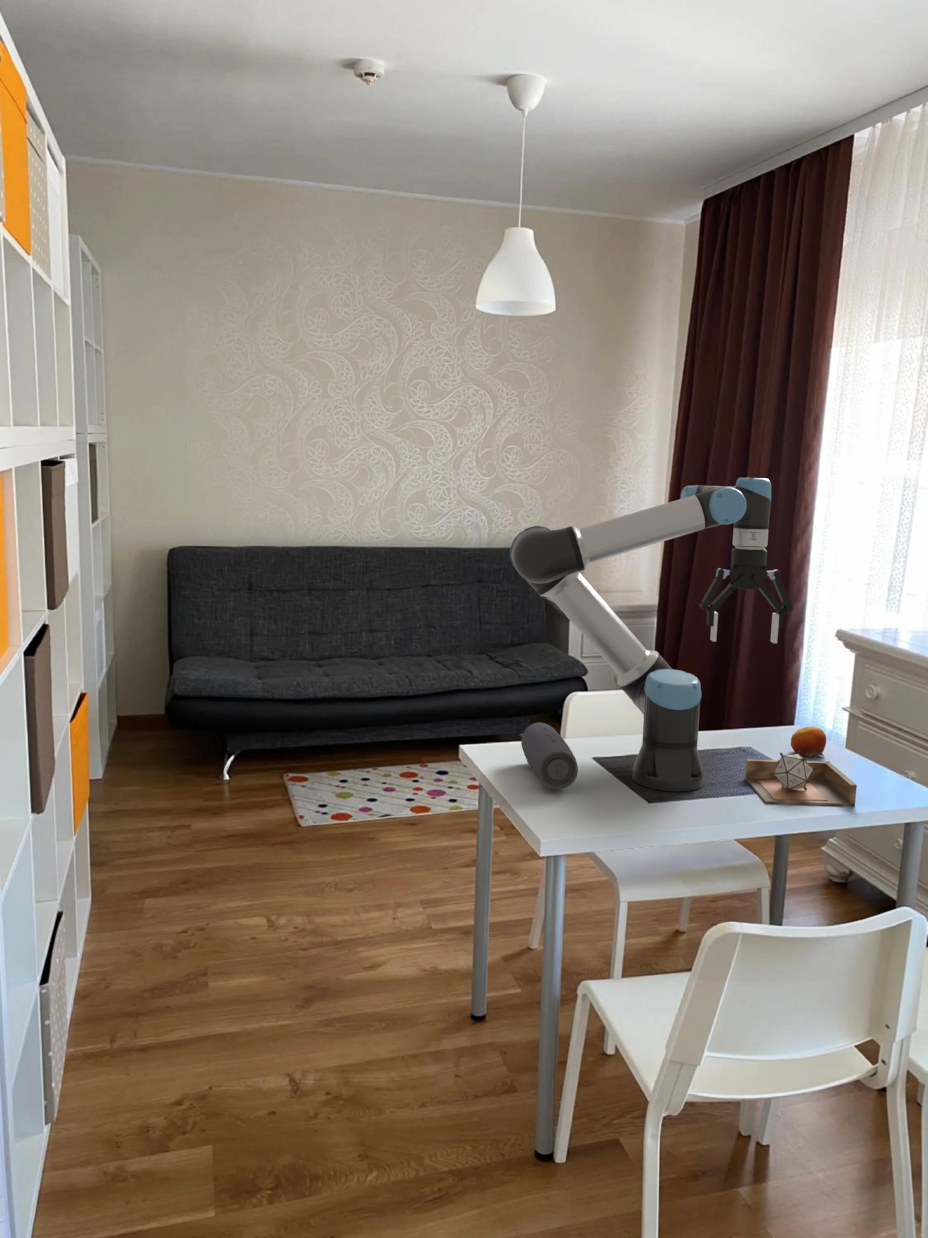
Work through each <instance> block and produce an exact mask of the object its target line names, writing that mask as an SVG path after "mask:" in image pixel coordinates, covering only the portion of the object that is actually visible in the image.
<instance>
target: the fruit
mask: <svg viewBox="0 0 928 1238" xmlns="http://www.w3.org/2000/svg"><path fill="white" fill-rule="evenodd" d="M826 745H827V735H826V733H825V732H824V731H823V730H822V729H821V728H819V727H816V726H806V727H802V728H799V729H797V730H796V731H795V732H794V733H793V734H792V735H791V738H790V747H791V748H792V750H793V751H794V752H795V754H798V753H797V752H798V751H799V750H800V755H801V756H802V757H809V758H812V757H813V756H814V755H815V756H816V755H819V756H822V757H823V758H825V756H824V754H823V753H824V751H825V747H826Z"/></svg>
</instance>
